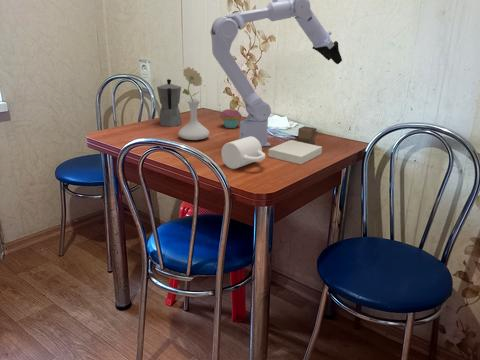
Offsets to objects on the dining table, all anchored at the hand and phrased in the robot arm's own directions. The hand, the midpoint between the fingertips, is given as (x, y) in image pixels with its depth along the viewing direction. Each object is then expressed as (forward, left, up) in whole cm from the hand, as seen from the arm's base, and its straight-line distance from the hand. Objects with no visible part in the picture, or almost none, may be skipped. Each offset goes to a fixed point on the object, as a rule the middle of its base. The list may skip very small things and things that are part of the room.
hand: (335, 60), depth 146 cm
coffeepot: (-52, +35, -29) cm, 69 cm away
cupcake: (-29, +26, -29) cm, 49 cm away
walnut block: (-10, -4, -29) cm, 31 cm away
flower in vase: (-47, +14, -29) cm, 57 cm away
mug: (-38, -20, -29) cm, 52 cm away
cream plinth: (-19, -14, -29) cm, 37 cm away
